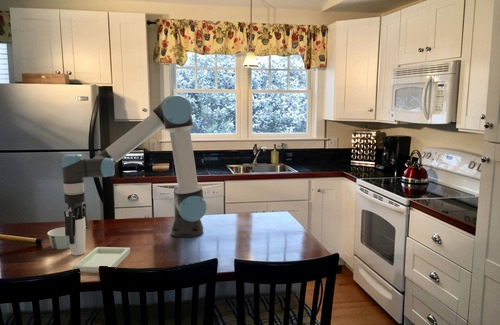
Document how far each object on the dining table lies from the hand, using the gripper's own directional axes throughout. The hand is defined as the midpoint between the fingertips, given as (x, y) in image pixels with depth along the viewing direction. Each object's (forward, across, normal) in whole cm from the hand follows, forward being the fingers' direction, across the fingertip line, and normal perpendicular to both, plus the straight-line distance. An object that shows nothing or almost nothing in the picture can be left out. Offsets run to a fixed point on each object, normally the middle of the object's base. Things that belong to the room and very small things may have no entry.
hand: (78, 247), depth 163 cm
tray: (+2, +8, +14) cm, 16 cm away
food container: (+3, -9, -11) cm, 14 cm away
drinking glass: (+3, 0, 0) cm, 3 cm away
